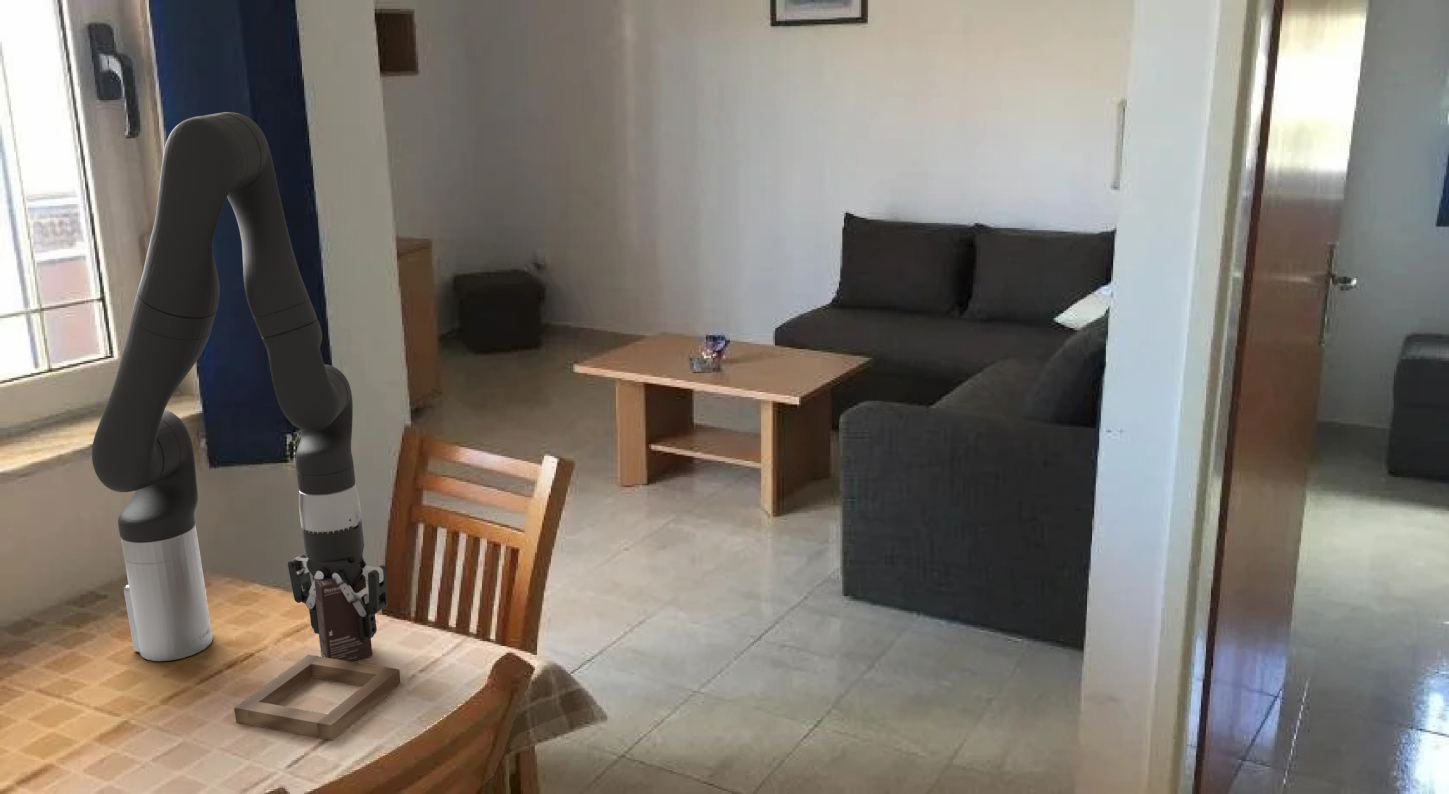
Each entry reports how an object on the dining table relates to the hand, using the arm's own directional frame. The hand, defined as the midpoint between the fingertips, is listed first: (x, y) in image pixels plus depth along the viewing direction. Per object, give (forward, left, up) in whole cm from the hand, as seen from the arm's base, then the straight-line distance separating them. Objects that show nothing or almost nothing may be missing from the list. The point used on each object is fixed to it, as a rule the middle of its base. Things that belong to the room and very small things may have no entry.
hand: (344, 634), depth 158 cm
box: (0, 0, -4) cm, 4 cm away
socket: (+4, -11, -3) cm, 12 cm away
